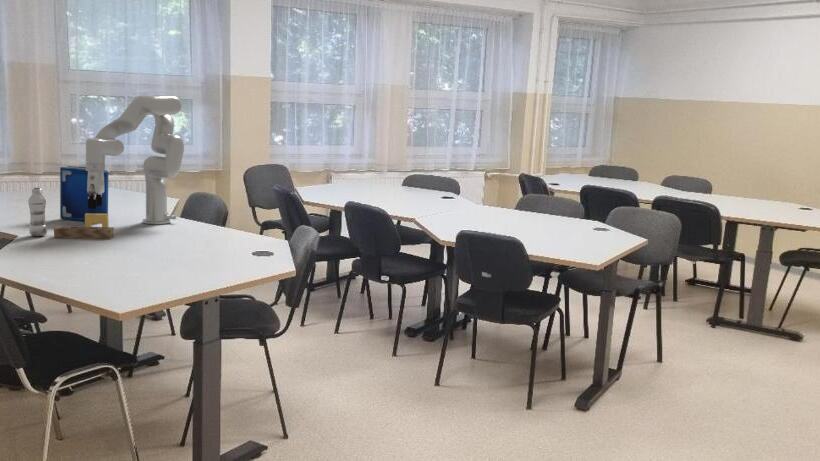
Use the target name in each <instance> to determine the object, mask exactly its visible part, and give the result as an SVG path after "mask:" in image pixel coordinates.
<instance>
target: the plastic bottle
mask: <svg viewBox="0 0 820 461" xmlns="http://www.w3.org/2000/svg"><path fill="white" fill-rule="evenodd" d="M42 193H43V188H42V187H32V188H31V195H30V196H29V198H28V200H27V202H28V208H29V213H30V214H29V216H30V217H29V218H30V219H29V220H30V221H29V222H30V223H29V224H30V225H29V230H28V231H29V233H30V235H31V236H32V237H43V236H46V235H47V234H48V227H47V226H48V225H47V223H46V207H47V206H46V205H47V204H46V202H47V201H46V198H45V196H44V195H43V194H42Z"/></svg>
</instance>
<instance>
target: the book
mask: <svg viewBox="0 0 820 461" xmlns="http://www.w3.org/2000/svg"><path fill="white" fill-rule="evenodd" d="M59 173H60V176H59V179H60V181H59V186H60V187H59V188H60V190H59V191H60V192H59V194H60V195H59V199H60V200H59V204H60V206H59V207H60V208H59V210H60V211H59V213H60V215H59V216H60V217H59V218H60V220H65V221H73V222H83V223H85V214H86V213H95V214H108V215H109V175H110V174H109V171H108V170H106V169H105V171H104V172H103V173H104V193H102V206H96V209H89V208H88V192H87V180H88V171H86V166H76V165H73V166H72V165H67V166H61V167H60V170H59Z"/></svg>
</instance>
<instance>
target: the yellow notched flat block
mask: <svg viewBox="0 0 820 461" xmlns="http://www.w3.org/2000/svg"><path fill="white" fill-rule="evenodd" d="M92 224H94V225H95V224H96V225H98V224H102V225H101V227H110V226H109V213H108V214H95V213H86V214H85V222H84V227H93V226H92Z"/></svg>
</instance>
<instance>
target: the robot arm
mask: <svg viewBox="0 0 820 461" xmlns="http://www.w3.org/2000/svg"><path fill="white" fill-rule="evenodd" d="M181 110H182V101H181V100H180V99H179V97H176V96H175V95H173V96H172V95H158V94H155V95H137V96H135V97H134V98H133V100H132V101H131V102H130V103H129V104H128V106H127V107H126V108H125V109H124V111H123V112H122V114H121V115H120V116H119V117H118V118H116V119H114V120H113V121H111V122H109V123H108V124H107V125H105V126H104V127H102V128H101V129H100V130H99V131H98V132H97V134H96V135H95V136H94V138H91V137H90V138H87V139H86V141H85V167H86V171H88V180H87V192H88V208H89V209H96V206H102V193H104V173H103V172H104V171H105V170H106V156H110V157H118V156H120V155H121V154H122V153H123V152H124V150H125V145H124V143H123V142H122V141H121V140H119V139H117V138H118V137H120V136H122V135H125V134H129V133H131V132H132V133H133V132H134V131H136V130H137V129H138V128H139V126H140V124H142V122H143V121H144V119H145V118H147V116H148V115H149V116H153V119H154V129H153V132H152V138H151V143H150V144H151V145H150V148H151V151H152V152H153V153H156V154H158V156H157V155H151V156H148V157H147V158H145V160H144V161H143V165H142V169H143V173H144V179H145V180H144V181H145V218H143V219H142V223H143V224H146V225H166V224H170V223H171V220H177V215H175V214H173V215H171V214H169V212H168V191H167V190H168V185H167V181H166V178H167V179H174V178H176V177H177V176H178V174H179V173H180V170H181V166H182V162H183V157H184V151H185V143H184V140H183V139H182V137H181V136H179V135H176V134H174V130H175V129H174V128H175V123H174V119H173V117H172V116H173V115H174V116H175V115H177V114H179V113H180V111H181ZM159 155H164V156H159Z"/></svg>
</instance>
